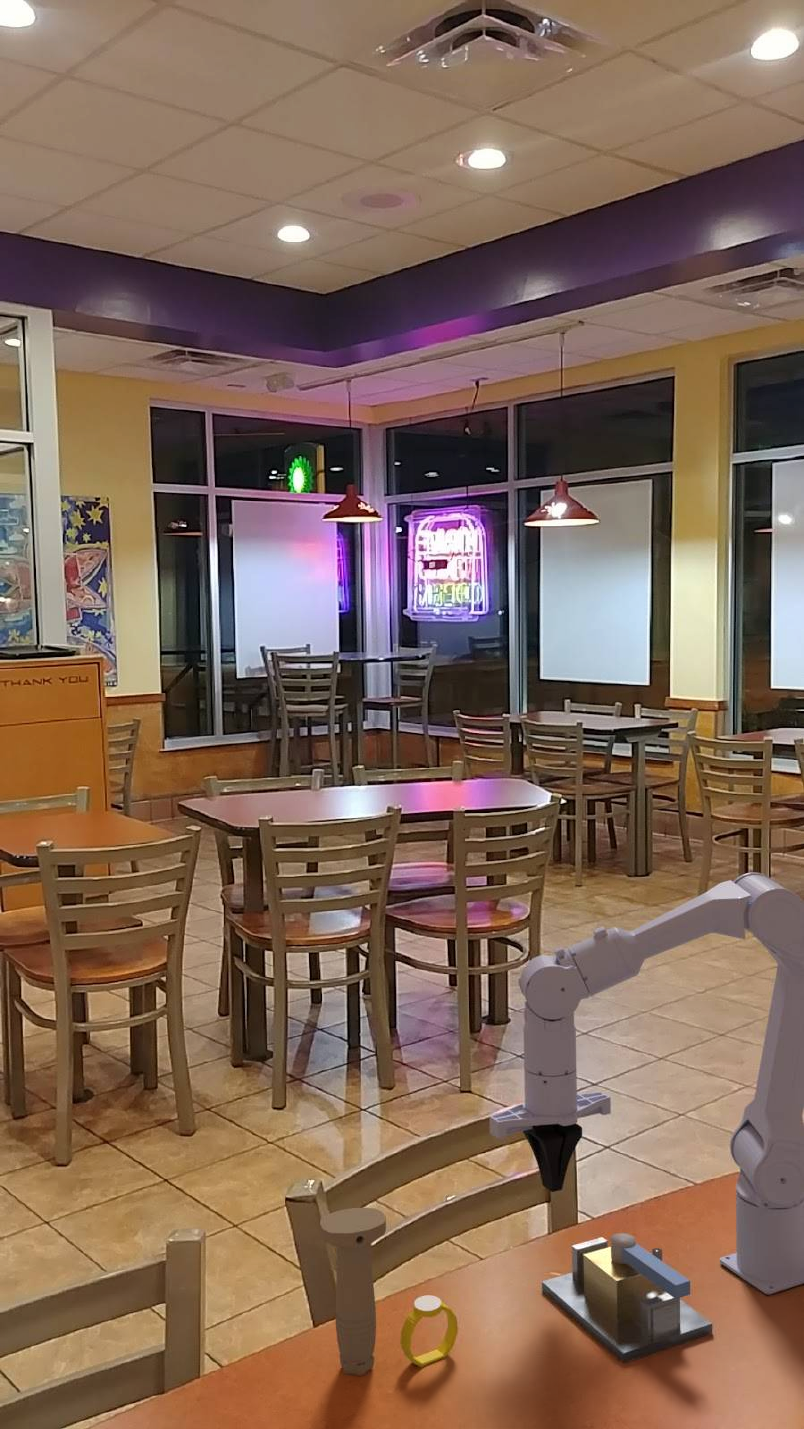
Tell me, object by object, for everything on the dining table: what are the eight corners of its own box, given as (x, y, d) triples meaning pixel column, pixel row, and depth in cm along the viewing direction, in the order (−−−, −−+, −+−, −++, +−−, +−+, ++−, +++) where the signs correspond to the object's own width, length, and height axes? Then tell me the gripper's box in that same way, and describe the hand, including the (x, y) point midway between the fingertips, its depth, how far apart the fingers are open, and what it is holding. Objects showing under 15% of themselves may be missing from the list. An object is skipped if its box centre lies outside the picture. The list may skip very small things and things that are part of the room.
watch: (413, 1379, 118) (408, 1321, 118) (398, 1364, 121) (393, 1308, 120) (464, 1353, 121) (459, 1297, 121) (448, 1340, 124) (443, 1285, 123)
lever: (606, 1255, 129) (605, 1237, 129) (625, 1249, 130) (625, 1231, 130) (672, 1304, 119) (672, 1284, 119) (693, 1296, 120) (693, 1277, 120)
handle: (395, 1374, 118) (391, 1225, 117) (331, 1389, 116) (327, 1237, 115) (381, 1347, 123) (377, 1203, 122) (319, 1360, 121) (315, 1214, 120)
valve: (625, 1265, 138) (624, 1203, 137) (712, 1332, 124) (711, 1264, 124) (542, 1290, 133) (540, 1226, 132) (623, 1362, 119) (622, 1292, 119)
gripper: (511, 1091, 127) (514, 1217, 128) (626, 1066, 133) (627, 1187, 134) (479, 1070, 133) (481, 1190, 134) (589, 1047, 140) (591, 1163, 140)
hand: (552, 1187), depth 135 cm, fingers closed
